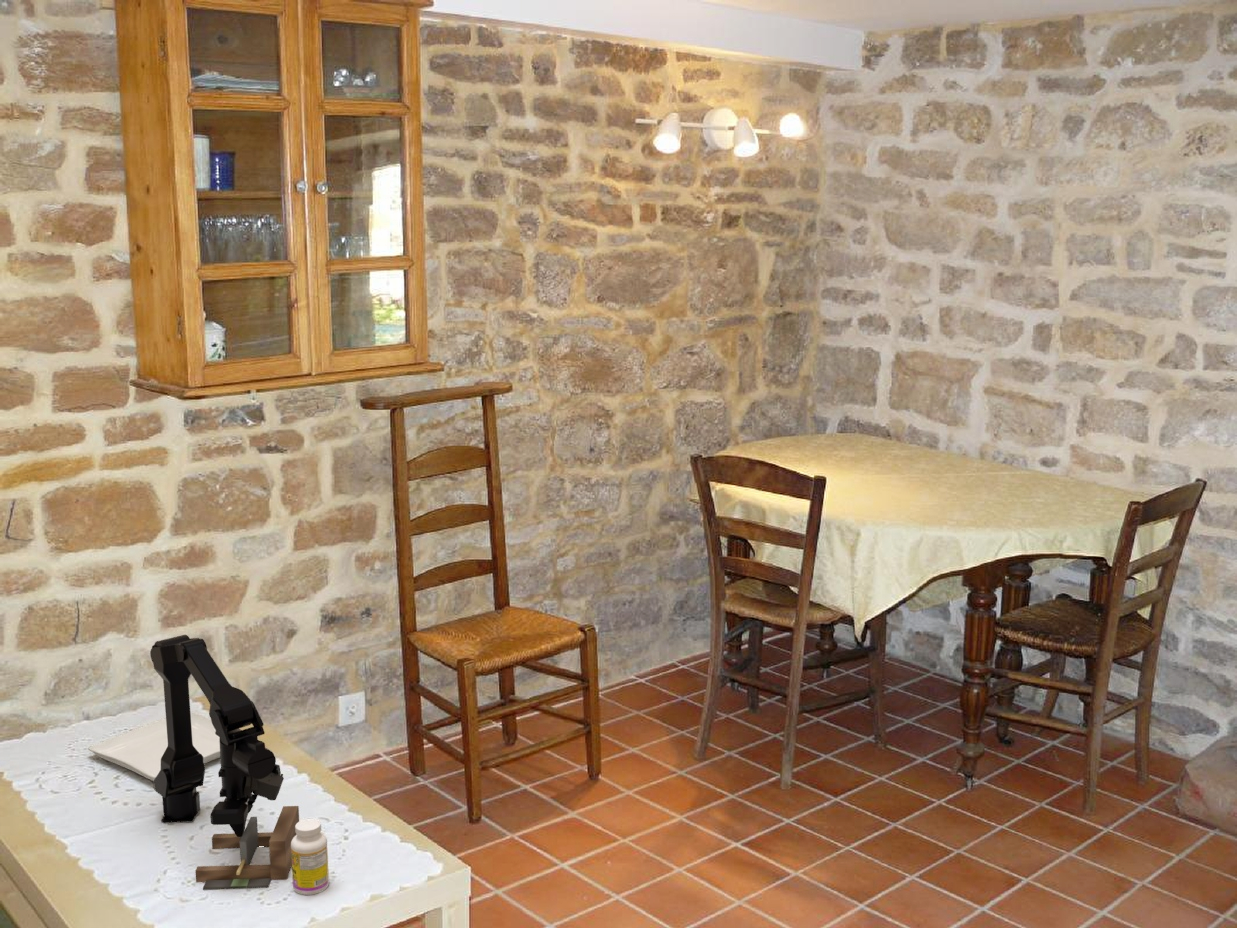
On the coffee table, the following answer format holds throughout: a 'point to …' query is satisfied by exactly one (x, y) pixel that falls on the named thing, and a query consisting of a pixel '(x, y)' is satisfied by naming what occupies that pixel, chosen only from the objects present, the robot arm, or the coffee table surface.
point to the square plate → (156, 745)
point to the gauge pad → (248, 843)
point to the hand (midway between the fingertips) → (240, 835)
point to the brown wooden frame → (254, 873)
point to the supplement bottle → (309, 858)
